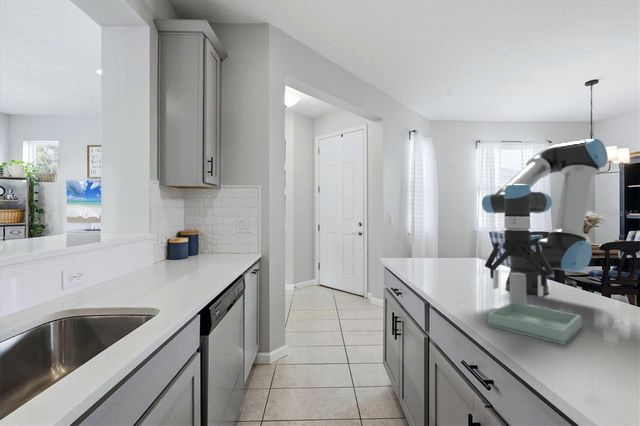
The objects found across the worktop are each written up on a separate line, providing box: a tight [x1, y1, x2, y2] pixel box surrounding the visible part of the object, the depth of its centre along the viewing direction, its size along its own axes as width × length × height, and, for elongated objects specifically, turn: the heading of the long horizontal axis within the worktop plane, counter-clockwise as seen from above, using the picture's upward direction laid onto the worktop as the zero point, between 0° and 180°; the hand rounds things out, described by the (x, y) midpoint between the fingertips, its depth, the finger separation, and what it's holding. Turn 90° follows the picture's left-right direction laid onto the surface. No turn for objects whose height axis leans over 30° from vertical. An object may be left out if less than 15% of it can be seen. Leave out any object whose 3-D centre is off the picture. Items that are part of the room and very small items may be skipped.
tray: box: [487, 301, 582, 345], centre depth 90 cm, size 18×18×3 cm
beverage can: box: [509, 272, 527, 305], centre depth 107 cm, size 5×5×12 cm
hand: (517, 291), depth 107 cm, fingers open, 13 cm apart
